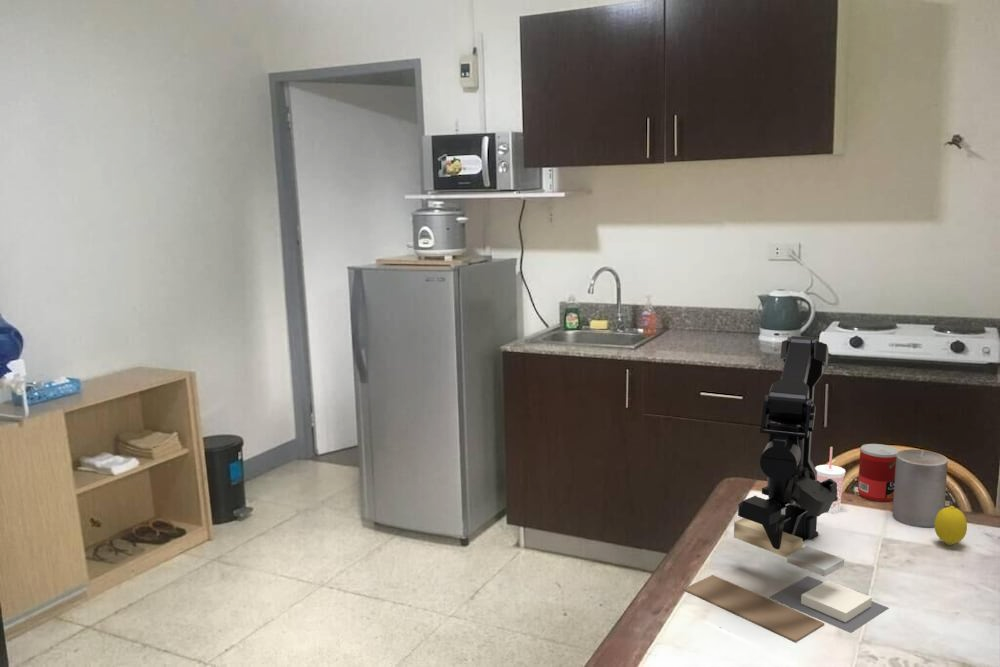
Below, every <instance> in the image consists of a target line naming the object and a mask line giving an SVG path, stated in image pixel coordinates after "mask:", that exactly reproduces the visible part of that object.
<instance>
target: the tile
mask: <svg viewBox="0 0 1000 667" xmlns="http://www.w3.org/2000/svg"><path fill="white" fill-rule="evenodd" d="M822 582H823V583H822V584H820V585H818V586H816V587H815V588H813V589H811V590H809V591H807V592H806V593H804V594H802V595H801V604H803V605H805V606H808V607H810V608H812V609H815V610H817V611H820V612H822V613H824V614H827V615H829V616H831V617H834V618H836V619H838V620H841V621H843V622H847V621H849V620H850V619H852V618H853V617H855V616H857V615H858V614H860V613H861V612H863V611H864V610H866V609H868V608H869V607H871V601H873V600H872V599H873V597H872V596H869V595H867V594H863V593H862V592H859V591H856V590H853V589H851V588H848V587H847V586H846V587H845V586H843V585H841V584H838V583H836V582H833V581H830V580H825V581H822Z"/></svg>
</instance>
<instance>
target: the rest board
mask: <svg viewBox="0 0 1000 667" xmlns="http://www.w3.org/2000/svg"><path fill="white" fill-rule="evenodd" d="M683 591H684V592H687V594H691V595H693V596H695V597H697V598H699V599H701V600H702V601H703V600H704V601H705V602H708V603H709V604H711V605H714V606H715V607H719V608H720V609H723V610H725V611H727V612H729V613H732V614H734V615H736V616H737V617H740V618H742V619H744V620H746V621H748V622H751V623H753V624H754V625H757V626H759V627H761V628H764V629H766V630H768V631H770V632H772V633H774V634H776V635H778V636H781V637H783V638H784V639H787V640H789V641H791V642H793V643H798V642H800V641H801V640H803V639H804V638H806V637H807V636H809V635H811V634H813V633H814V632H816V631H817V630H819V629H820V628H823V627H824V626H825V622H824V621H821V620H819V619H817V618H815V617H812V616H810V615H808V614H805V613H803V612H801V611H798V610H796V609H794V608H791V607H789V606H787V605H785V604H782V603H780V602H778V601H775V600H773V599H771V598H767V597H765V596H763V595H760V594H758V593H755V592H754V591H751V590H748V589H746V588H745V587H741V586H739V585H738V584H734V583H733V582H730V581H728V580H725V579H723V578H721V577H718V576H716V575H714V574H711V575H709V576H707V577H705V578H703V579H701V580H698V581H697V582H694V583H692V584H690V585H689V586H687V587H684V588H683Z"/></svg>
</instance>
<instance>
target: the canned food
mask: <svg viewBox="0 0 1000 667" xmlns="http://www.w3.org/2000/svg"><path fill="white" fill-rule="evenodd" d="M859 451H860V452H859V461H858V462H859V467H858V479H857V480H858V482H857V483H858V484H857V491H858V494H859V496H860V497H862V498H864V499H867V500H869V501H873V502H874V501H875V502H879V503H880V502H883V503H885V502H893V500H894V484H895V468H896V455H897V453H898V452H899V449H898V448H896V447H893V446H891V445H888V444H887V445H886V444H882V443H880V444H879V443H868V444H867V443H865V444H862V445H861V446H860V450H859Z"/></svg>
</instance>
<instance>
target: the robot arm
mask: <svg viewBox="0 0 1000 667" xmlns="http://www.w3.org/2000/svg"><path fill="white" fill-rule="evenodd" d="M780 346H781V348H780V357H779V360H780V362H781V363H782V364H783V368H782V374H781V376H780V379H778V380H777V381H775V382H773V383H772V384H771V386H770V389H769V392H768V394H765V395H764V400H763V406H762V412H761V413H762V415H761V422H760V429H759V433H760V434H762V435H763V434H766V435H769V436H768V442H767V444H766V446H765V448H764V449H763V451H762V454H761V456H760V457H759V458H760V459H759V464H760V465H759V466H760V468H761V470H762V472H763V473H764V475H765V476H766V477H767V480H766V482H767V483H766V484H767V485H766V486H764V487H762V488H761V494H762V495H764V496H768V498H766V499H765V498H762V497H760V496H756V495H754V496H751V497H749V498H745V499H744V500H742V501H741V502H738V504H737V515H738V517H741V519H743V518H745V519H748V520H751V521H754V522H756V523H759V524H762V525H763V527H764V529H765V531H766V533H767V536H768V538H769V540H770V542H771V544H772V546H773V548H775V549H777V550H778V549H780V545H781V539H782V533H783V532H786V533H788V534H791V535H794V536H797V537H800V538H802V539H803V542H805V541H807V540H811V539H813V538H815V537H817V536H818V535H819V532H818V531H817V524H818V522H817V521H818V517H820V516H821V515H823V514H825V513H826V512H828V511H829V509H830V507H831V505H832V503H833V502H835V501H837V500H838V498H837V483H836V482H835V481H833V480H832V479H828V480H825V481H823V482H820V481H818V480H817V471H816V469H815V467H816V466H814V464H813V462H812V460H811V448H812V447H811V445H812V432H813V431H814V425H815V416H816V405H815V403H814V398H815V396H814V394H815V385H816V384H817V383H818V382H819V381H820V379H821V377H822V376H823V374H824V371H825V367H828V363H829V347H828V346H829V345H828V344H827V343H824V342H823V341H819V340H817V339H816V338H814V337H813V336H796V335H792V336H788V337H787V339H784V340H782V341H781V344H780ZM768 422H769V423H768Z"/></svg>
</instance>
